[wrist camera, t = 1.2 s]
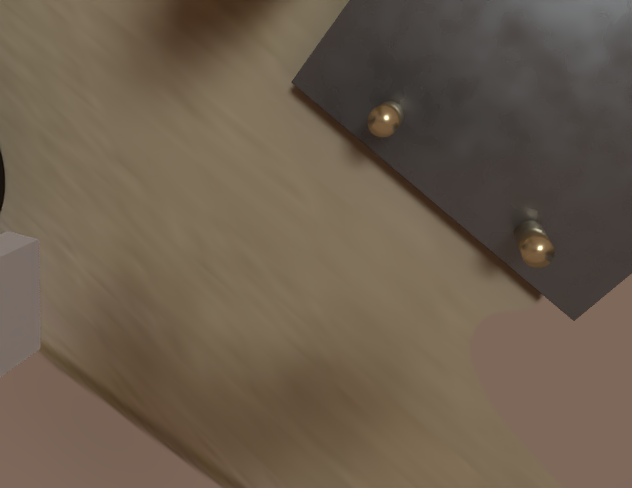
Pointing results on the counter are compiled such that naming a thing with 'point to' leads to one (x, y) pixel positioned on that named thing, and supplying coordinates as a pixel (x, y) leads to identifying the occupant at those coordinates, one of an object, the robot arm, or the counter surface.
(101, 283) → the counter surface
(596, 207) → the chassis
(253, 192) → the counter surface
